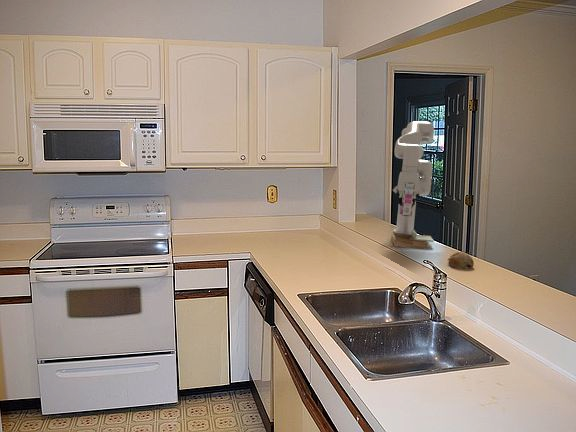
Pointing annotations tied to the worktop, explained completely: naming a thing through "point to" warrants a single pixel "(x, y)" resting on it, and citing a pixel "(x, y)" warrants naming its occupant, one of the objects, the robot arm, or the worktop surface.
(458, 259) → the bread roll
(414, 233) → the lid
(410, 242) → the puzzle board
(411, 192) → the candy bar box
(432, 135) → the robot arm
